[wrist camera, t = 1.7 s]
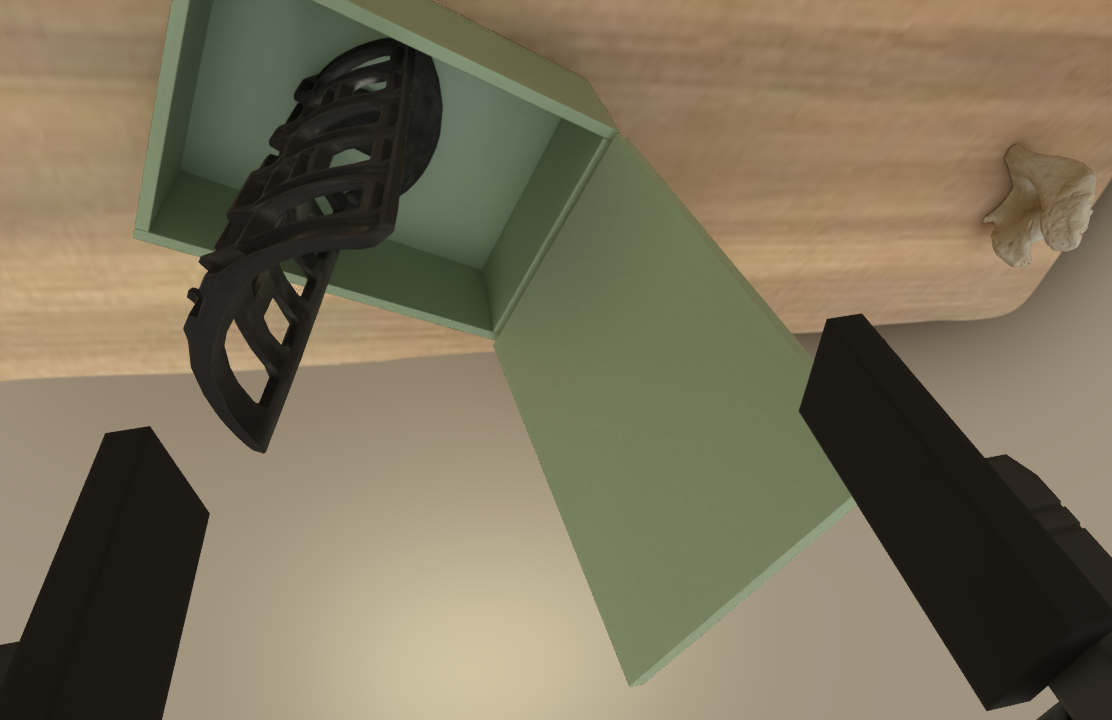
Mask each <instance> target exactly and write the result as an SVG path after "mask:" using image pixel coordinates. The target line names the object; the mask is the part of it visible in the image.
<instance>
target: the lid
mask: <svg viewBox="0 0 1112 720" xmlns="http://www.w3.org/2000/svg"><path fill="white" fill-rule="evenodd" d="M493 346H494V349H495V351H496V354H497V356H498V359H499V361H500V363H501V366H502V369H503V371H504V374H505V376H506V379H507V381H508V384H509V386H510V389H511V391H512V394H513V396H514V399H515V401H516V404H517V406H518V409H519V412H520V414H521V417H522V419H523V421H524V424H525V426H526V429H527V432H528V434H529V437H530V439H531V441H532V444H533V447H534V449H535V451H536V454H537V456H538V459H539V461H540V464H541V467H542V469H543V472H544V474H545V477H546V479H547V482H548V484H549V487H550V489H551V492H552V494H553V497H554V499H555V502H556V504H557V507H558V509H559V512H560V514H561V517H562V519H563V522H564V524H565V527H566V529H567V532H568V534H569V536H570V539H571V542H572V544H573V547H574V549H575V552H576V554H577V557H578V559H579V562H580V564H581V567H582V569H583V572H584V574H585V577H586V579H587V582H588V584H589V587H590V589H591V592H592V595H593V596H594V600H595V602H596V605H597V607H598V609H599V612H600V615H601V617H602V620H603V622H604V625H605V627H606V630H607V632H608V635H609V637H610V640H611V642H612V644H613V647H614V650H615V652H616V655H617V657H618V660H619V662H620V665H621V667H622V669H623V672H624V675H625V677H626V680H627V682H628V685H629V687H632V686H637V685H642V684H644V683H646V682H647V681H648V680H649V679H650V678H652V677H653V676H654V675H655V674H656V673H658V671H660V670H661V669H662V668H663V667H665V666H666V665H667V664H668V663H669V662H671V661H672V660H673V659H674V658H675V657H676V656H678V655H679V654H680V653H681V652H682V651H684V650H685V649H686V648H687V647H689V646H690V645H691V644H692V643H693V642H694V641H696V640H697V639H698V638H699V637H700V636H702V635H703V634H704V633H705V632H706V631H708V630H709V629H710V628H711V627H712V626H713V625H715V624H716V623H717V622H718V621H720V620H721V619H722V618H723V617H724V616H725V615H726V614H728V613H729V612H730V611H731V610H733V609H734V608H735V607H736V606H737V605H738V604H740V603H741V602H742V601H743V600H745V599H746V598H747V597H748V596H749V595H750V594H752V593H753V592H754V591H755V590H756V589H758V588H759V587H760V586H761V585H762V584H764V583H765V582H766V581H767V580H768V579H770V578H771V577H772V576H773V575H774V574H775V573H777V572H778V571H779V570H780V569H781V568H783V567H784V566H785V565H786V564H787V563H789V562H790V561H791V560H792V559H793V558H795V557H796V556H797V555H798V554H799V553H801V552H802V551H803V550H804V549H805V548H806V547H808V546H809V545H810V544H811V543H812V542H814V541H815V540H816V539H817V538H818V537H820V536H821V535H822V534H823V533H824V532H826V531H827V530H828V529H829V528H830V527H831V526H833V525H834V524H835V523H836V522H837V521H839V520H840V519H841V518H842V517H843V516H845V515H846V514H847V513H848V512H849V511H850V510H852V509H853V508H854V507H855V506H857V504H856V502H855V500H854V499H853V497H852V496H851V494H850V492H849V491H848V489H847V488H846V486H845V485H844V483H843V481H842V480H841V478H840V477H839V475H838V473H837V472H836V470H835V469H834V467H833V465H832V464H831V462H830V461H829V459H828V457H827V456H826V454H825V453H824V451H823V449H822V448H821V446H820V445H819V443H818V441H817V440H816V438H815V437H814V435H813V434H812V432H811V430H810V429H809V427H808V426H807V424H806V422H805V421H804V419H803V418H802V416H801V414H800V413H799V408H800V405H801V402H802V398H803V395H804V392H805V389H806V385H807V382H808V379H809V376H810V372H811V369H812V366H813V363H814V360H813V359H812V357H811V356H810V355H809V354H808V353H807V351H806V350H805V349H804V348H803V347H802V345H801V344H800V343H799V342H798V341H797V339H796V338H795V337H794V336H793V335H792V333H791V332H790V331H789V330H788V329H787V327H786V326H785V325H784V324H783V323H782V321H781V320H780V319H779V318H778V317H777V315H776V314H775V313H774V312H773V311H772V309H771V308H770V307H769V306H768V305H767V303H766V302H765V301H764V300H763V299H762V297H761V296H760V295H759V294H758V293H757V291H756V290H755V289H754V288H753V287H752V285H751V284H750V283H749V282H748V281H747V279H746V278H745V277H744V276H743V275H742V273H741V272H740V271H739V270H738V269H737V267H736V266H735V265H734V264H733V263H732V261H731V260H730V259H729V258H728V257H727V256H726V254H725V253H724V252H723V251H722V250H721V248H720V247H719V246H718V245H717V244H716V242H715V241H714V240H713V239H712V238H711V236H710V235H709V234H708V233H707V232H706V230H705V229H704V228H703V227H702V226H701V224H700V223H699V222H698V221H697V220H696V218H695V217H694V216H693V215H692V214H691V212H690V211H689V210H688V209H687V208H686V206H685V205H684V204H683V203H682V202H681V200H680V199H679V198H678V197H677V196H676V194H675V193H674V192H673V191H672V190H671V188H670V187H669V186H668V185H667V184H666V182H665V181H664V180H663V179H662V178H661V176H660V175H659V174H658V173H657V172H656V170H655V169H654V168H653V167H652V166H651V165H650V163H649V162H648V161H647V160H646V159H645V157H644V156H643V155H642V154H641V153H640V151H639V150H638V149H637V148H636V147H635V145H634V144H633V143H632V142H631V141H630V139H629V138H627V137H624V136H622V135H619V134H616V135H615V137H614V139H613V140H612V142H611V144H610V146H609V147H608V149H607V151H606V153H605V154H604V156H603V158H602V159H601V161H600V163H599V165H598V166H597V168H596V170H595V171H594V173H593V175H592V177H591V178H590V180H589V182H588V183H587V185H586V187H585V189H584V190H583V192H582V194H581V196H580V197H579V199H578V201H577V202H576V204H575V206H574V208H573V209H572V211H571V213H570V214H569V216H568V218H567V220H566V221H565V223H564V225H563V227H562V228H561V230H560V232H559V233H558V235H557V237H556V239H555V240H554V242H553V244H552V245H551V247H550V249H549V251H548V252H547V254H546V256H545V258H544V259H543V261H542V263H541V264H540V266H539V268H538V270H537V271H536V273H535V275H534V276H533V278H532V280H531V282H530V283H529V285H528V287H527V288H526V290H525V292H524V294H523V295H522V297H521V299H520V301H519V302H518V304H517V306H516V307H515V309H514V311H513V313H512V314H511V316H510V318H509V319H508V321H507V323H506V325H505V326H504V328H503V330H502V332H501V333H500V335H499V337H498V338H497V340H496V342H495V344H494V345H493Z"/></svg>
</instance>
